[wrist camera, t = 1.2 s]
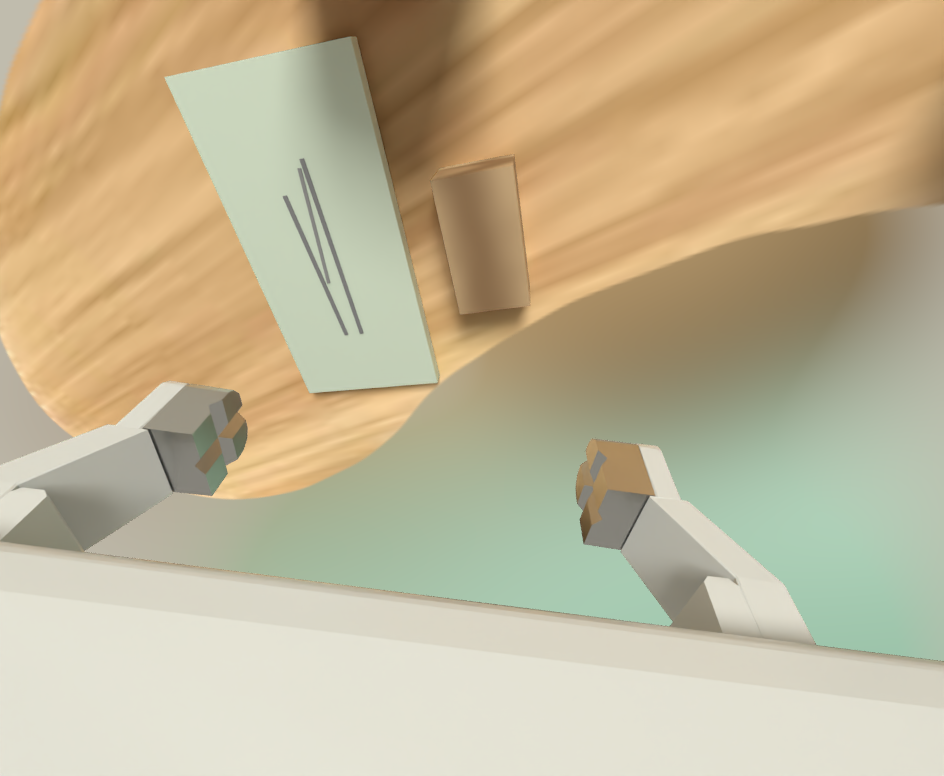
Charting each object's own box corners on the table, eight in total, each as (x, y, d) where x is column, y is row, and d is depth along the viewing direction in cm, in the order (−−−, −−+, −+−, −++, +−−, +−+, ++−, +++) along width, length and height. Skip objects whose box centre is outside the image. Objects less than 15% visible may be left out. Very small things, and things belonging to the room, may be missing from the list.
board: (356, 36, 26) (349, 36, 25) (439, 374, 40) (437, 383, 39) (176, 76, 28) (163, 77, 27) (314, 385, 42) (309, 393, 41)
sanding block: (514, 153, 29) (513, 165, 26) (529, 282, 35) (530, 305, 31) (440, 167, 30) (430, 180, 27) (465, 291, 35) (460, 314, 32)
